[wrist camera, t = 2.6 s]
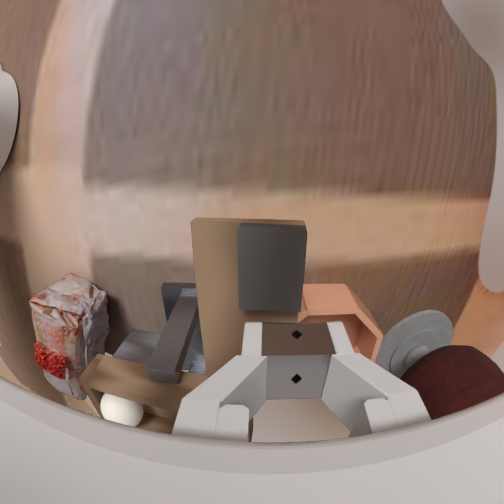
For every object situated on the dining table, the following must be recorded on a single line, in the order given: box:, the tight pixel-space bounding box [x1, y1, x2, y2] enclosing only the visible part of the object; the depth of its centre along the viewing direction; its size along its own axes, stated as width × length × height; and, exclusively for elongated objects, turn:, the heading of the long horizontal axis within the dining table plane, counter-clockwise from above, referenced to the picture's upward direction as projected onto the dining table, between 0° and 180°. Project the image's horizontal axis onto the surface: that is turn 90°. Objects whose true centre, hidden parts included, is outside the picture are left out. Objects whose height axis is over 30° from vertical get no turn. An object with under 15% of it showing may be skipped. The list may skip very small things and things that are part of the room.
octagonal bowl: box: [297, 283, 383, 363], centre depth 26 cm, size 11×11×4 cm
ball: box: [100, 393, 143, 427], centre depth 18 cm, size 4×4×4 cm
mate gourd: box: [375, 310, 504, 420], centre depth 20 cm, size 16×14×20 cm
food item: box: [29, 273, 110, 400], centre depth 25 cm, size 14×8×10 cm, turn 163°
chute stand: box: [146, 283, 207, 384], centre depth 23 cm, size 6×11×11 cm, turn 0°
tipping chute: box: [79, 218, 307, 442], centre depth 18 cm, size 15×18×8 cm
